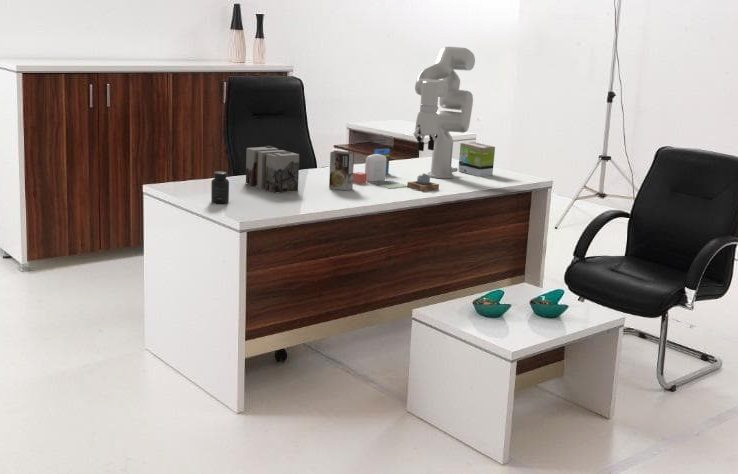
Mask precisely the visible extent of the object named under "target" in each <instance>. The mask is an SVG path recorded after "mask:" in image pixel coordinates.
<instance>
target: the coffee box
mask: <svg viewBox="0 0 738 474" xmlns="http://www.w3.org/2000/svg"><path fill="white" fill-rule="evenodd" d="M329 154H330V155H329V156H330V157H329V178H328V179H329V185H328V189H332V190H340V191H341V190H342V191H348V192H349V191H350V190H352V189H354V188H353V187H354V185H353V184H354V183H353V173H354V166H355V165H354V161H355V151H353V152H352V151H345V150H333V151H330V153H329Z"/></svg>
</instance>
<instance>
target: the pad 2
mask: <svg viewBox="0 0 738 474" xmlns="http://www.w3.org/2000/svg"><path fill="white" fill-rule="evenodd" d="M379 187H381V188H385V189H388V190H390V189H391V190H393V189H399V188H408V187H407V184H404V183H400V182H398V183H397V184H387V185H380V186H379Z"/></svg>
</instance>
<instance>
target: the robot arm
mask: <svg viewBox="0 0 738 474" xmlns="http://www.w3.org/2000/svg"><path fill="white" fill-rule="evenodd" d="M475 63H476V56H475V55H474V53H473V52H472V51H471V50H470V49H468V48H466V47H459V46H444V47H442V48H441V49H440V50H439V52H438V55H437V57H436V59H435V62H434V64H432V65H430V66H427V67H426V68H424V69H423V70H421V72H420V73H419V74H418V77H417V78H416V81H415V86H414V90H415V93H416V94H417V95H418V96H420V105H419V106H420V107H419V110H420V111H418V113H417V117H416V120H415V121H416V122H415V128H414V129H415V130H414V132H413V136H414V137H415V138H416V141H417V150H418V152H419V151H420V152H424V150H425V149H424V148H425V142H424V140H425V136H428V139H429V140H428V142H427V150H429V151H432V154H431V167H430V171H429V172H427V175H428V176H429V177H430V178H435V179H453V178H454V177H455V176H454V175H455V174H453V173H455V172H459V171H458V169H459V168H458V167H452V161H453V160H452V158H453V149H454V148H453V146H454V139H453V137H452V135H451V134H450V132H451V133H452V132H453V133H460V134H461V133H462V134H463V133H466V132H468V130H469V128H470V125H471V119H472V118H471V117H472V111H473V106H474V97H473V96H474V95H473V94H472V92H471V91H469V90H464V89H463V90H462V89H460V85H461V79H460V77H459V75H458V74H457V72H456V71H455V70H457V71H471V70H473V68H474V67H475ZM438 103H439V104H438ZM438 105H439V106H440V108H442V109H444V110H439V107H438ZM445 109H446V110H445ZM451 110H452V111H451ZM453 110H454V111H453Z"/></svg>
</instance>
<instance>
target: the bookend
mask: <svg viewBox="0 0 738 474" xmlns="http://www.w3.org/2000/svg"><path fill="white" fill-rule="evenodd" d="M245 152H246V156H245V157H246V158H245V159H246V160H245V162H246V163H245V184H246V183H247V184H246V185H250V184H251V186H252V187H258V189H260V188H261V189H260V190H263V189H264V190H265V191H266V192H271V193H272V192H273V194H277V193H276V192H280V193H287V191H290V192H296V191H297V192H299V174H300V173H299V169H300V154H299V153H295V152H291V151H287V150H284V149H279V148H277V147H274V146H271V145H265V146H259V147H256V146H255V147H246V151H245Z"/></svg>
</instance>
